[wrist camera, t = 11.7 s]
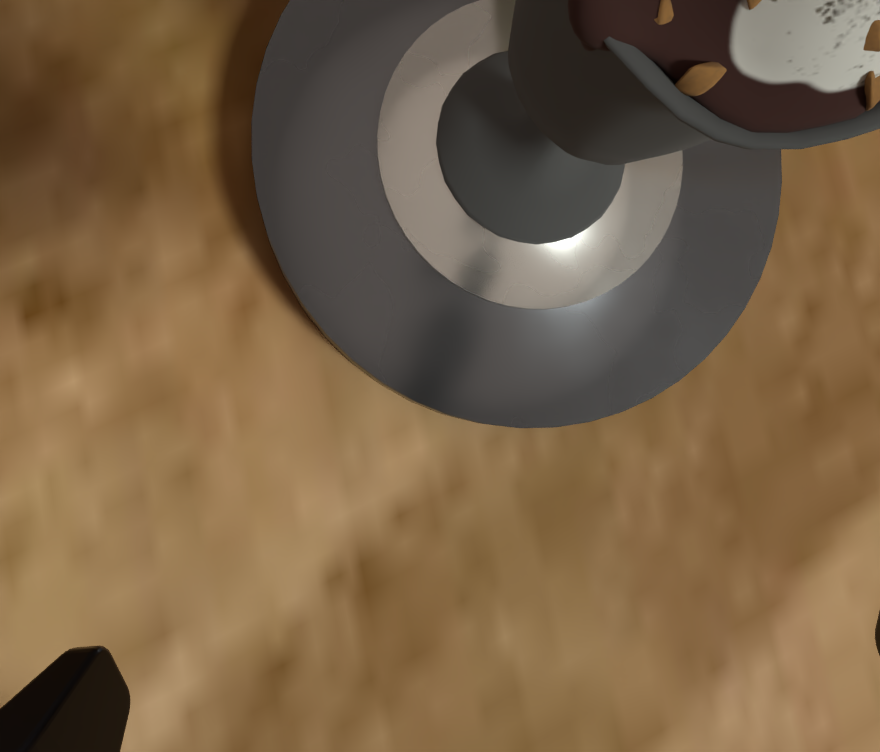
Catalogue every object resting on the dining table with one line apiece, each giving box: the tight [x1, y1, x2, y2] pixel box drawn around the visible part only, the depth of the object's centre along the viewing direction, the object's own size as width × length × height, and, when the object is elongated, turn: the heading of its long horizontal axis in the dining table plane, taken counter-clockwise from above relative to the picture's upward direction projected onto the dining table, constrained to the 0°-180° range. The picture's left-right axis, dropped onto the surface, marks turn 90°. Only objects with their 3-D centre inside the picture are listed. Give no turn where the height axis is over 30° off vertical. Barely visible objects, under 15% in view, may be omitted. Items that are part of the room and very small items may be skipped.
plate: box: [252, 0, 782, 428], centre depth 18 cm, size 14×14×3 cm
